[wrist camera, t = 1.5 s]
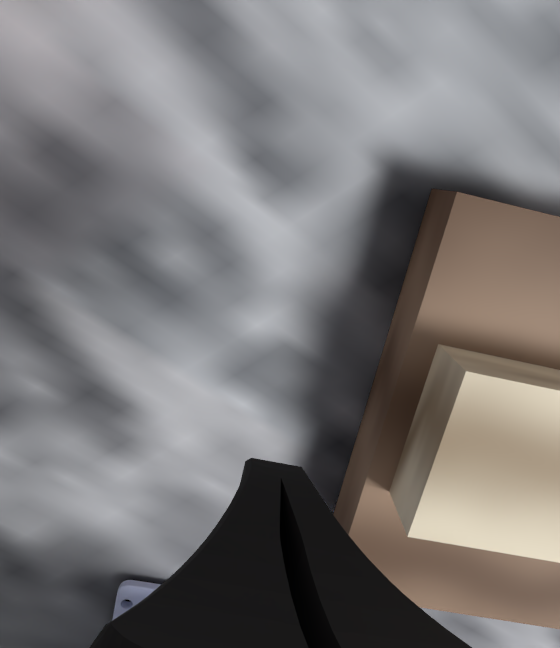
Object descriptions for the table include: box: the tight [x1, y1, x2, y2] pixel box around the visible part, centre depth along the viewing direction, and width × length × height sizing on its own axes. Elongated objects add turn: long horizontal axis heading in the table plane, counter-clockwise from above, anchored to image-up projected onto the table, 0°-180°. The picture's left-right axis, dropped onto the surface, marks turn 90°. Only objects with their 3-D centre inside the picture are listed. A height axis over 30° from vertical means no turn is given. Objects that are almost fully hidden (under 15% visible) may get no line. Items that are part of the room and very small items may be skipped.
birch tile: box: [389, 344, 560, 563], centre depth 18 cm, size 6×9×2 cm, turn 77°
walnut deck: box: [333, 189, 560, 629], centre depth 21 cm, size 16×13×2 cm
